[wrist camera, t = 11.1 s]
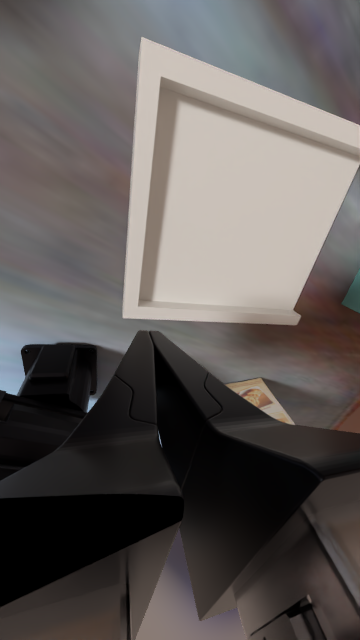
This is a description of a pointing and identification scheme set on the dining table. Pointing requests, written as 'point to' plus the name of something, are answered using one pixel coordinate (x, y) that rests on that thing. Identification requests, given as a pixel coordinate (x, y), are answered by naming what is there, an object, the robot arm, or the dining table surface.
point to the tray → (227, 193)
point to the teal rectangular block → (353, 295)
